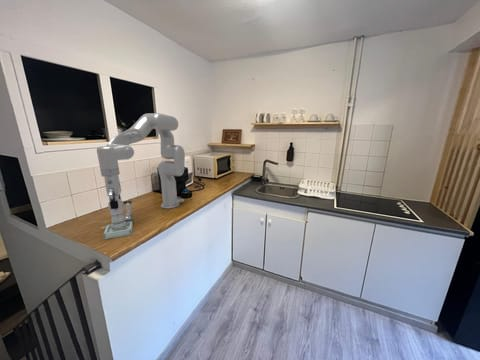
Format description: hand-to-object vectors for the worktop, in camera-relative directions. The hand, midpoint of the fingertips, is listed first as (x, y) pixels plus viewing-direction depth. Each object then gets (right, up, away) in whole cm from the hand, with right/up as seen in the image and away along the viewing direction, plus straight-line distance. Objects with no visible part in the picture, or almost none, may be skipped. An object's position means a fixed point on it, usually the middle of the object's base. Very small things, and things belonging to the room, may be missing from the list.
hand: (116, 204), depth 100 cm
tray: (0, -15, +3) cm, 15 cm away
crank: (-3, -9, +17) cm, 19 cm away
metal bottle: (0, -14, +3) cm, 14 cm away
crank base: (-6, -13, +11) cm, 18 cm away
